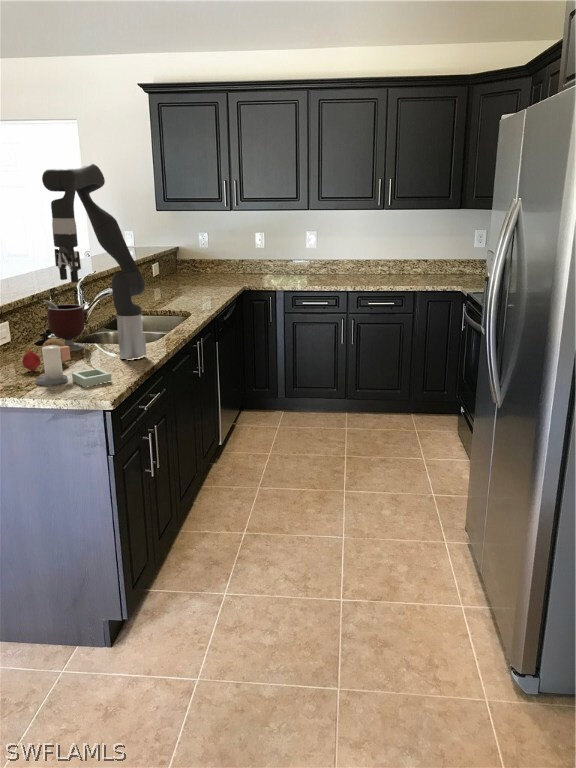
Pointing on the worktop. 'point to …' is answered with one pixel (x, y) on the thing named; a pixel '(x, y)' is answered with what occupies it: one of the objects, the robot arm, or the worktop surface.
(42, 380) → the coaster
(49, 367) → the jug
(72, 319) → the mate gourd
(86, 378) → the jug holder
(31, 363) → the onion
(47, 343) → the natural sponge
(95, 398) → the worktop surface
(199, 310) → the worktop surface
